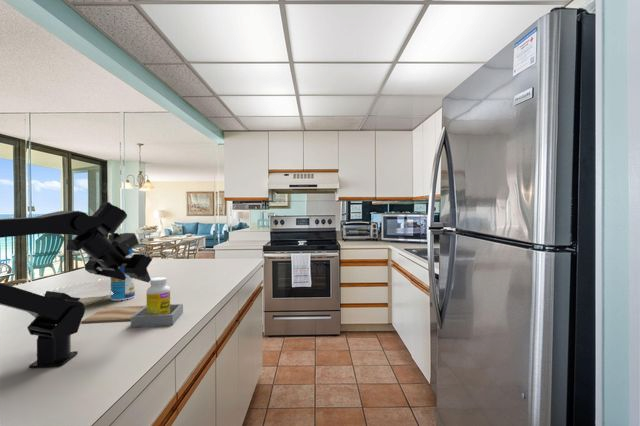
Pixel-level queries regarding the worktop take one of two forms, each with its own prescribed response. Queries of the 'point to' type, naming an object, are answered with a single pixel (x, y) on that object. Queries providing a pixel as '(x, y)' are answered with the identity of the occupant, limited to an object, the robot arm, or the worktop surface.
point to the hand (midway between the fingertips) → (136, 279)
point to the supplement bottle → (158, 297)
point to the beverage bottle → (123, 285)
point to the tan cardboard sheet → (113, 314)
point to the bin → (156, 317)
